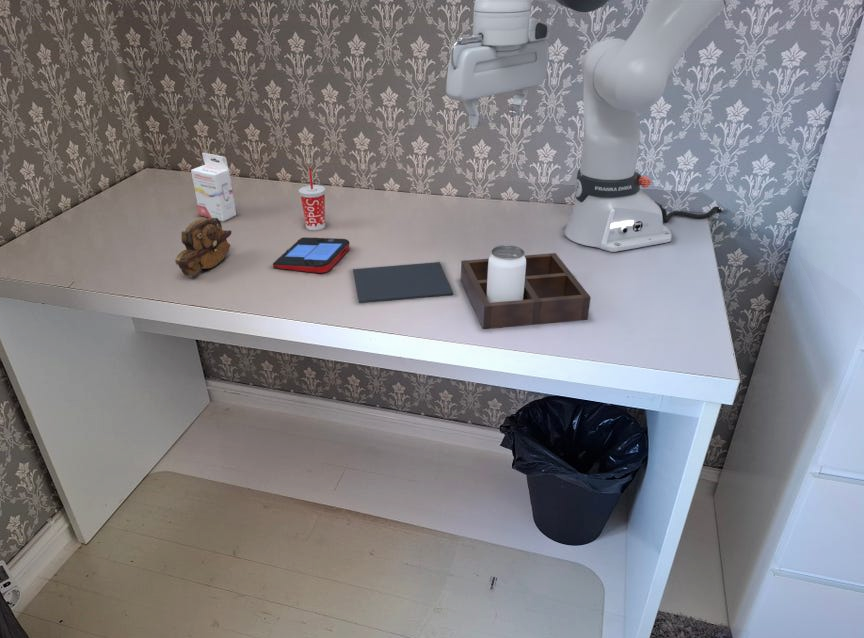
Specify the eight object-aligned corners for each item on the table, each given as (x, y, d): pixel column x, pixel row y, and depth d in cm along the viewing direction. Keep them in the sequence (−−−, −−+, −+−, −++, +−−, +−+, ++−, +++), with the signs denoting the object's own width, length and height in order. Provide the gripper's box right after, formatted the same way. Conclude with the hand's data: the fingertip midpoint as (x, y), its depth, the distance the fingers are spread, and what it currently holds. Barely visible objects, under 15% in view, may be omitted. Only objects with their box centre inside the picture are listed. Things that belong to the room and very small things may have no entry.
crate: (553, 273, 135) (555, 252, 133) (587, 319, 120) (590, 297, 117) (460, 281, 134) (461, 260, 131) (483, 329, 118) (484, 306, 116)
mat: (439, 264, 141) (439, 261, 141) (453, 295, 129) (453, 292, 129) (353, 271, 139) (353, 269, 139) (359, 303, 128) (358, 300, 127)
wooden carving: (197, 284, 137) (187, 238, 131) (178, 282, 138) (167, 236, 133) (239, 252, 149) (231, 208, 144) (221, 250, 151) (213, 207, 145)
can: (521, 322, 119) (526, 260, 113) (484, 320, 121) (487, 258, 114) (522, 305, 125) (527, 244, 118) (487, 303, 126) (490, 243, 119)
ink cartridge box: (198, 216, 169) (186, 157, 161) (212, 209, 172) (202, 151, 164) (223, 222, 165) (213, 161, 157) (237, 215, 168) (228, 156, 160)
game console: (301, 241, 153) (300, 232, 152) (353, 248, 149) (353, 238, 148) (271, 268, 142) (269, 258, 141) (326, 276, 138) (325, 266, 137)
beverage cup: (298, 229, 159) (291, 170, 152) (309, 220, 164) (303, 162, 156) (321, 232, 157) (316, 173, 150) (332, 223, 162) (327, 164, 154)
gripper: (466, 39, 100) (463, 135, 107) (558, 25, 110) (549, 113, 118) (438, 35, 104) (436, 128, 112) (528, 22, 114) (522, 107, 122)
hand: (495, 120), depth 115 cm, fingers open, 8 cm apart
